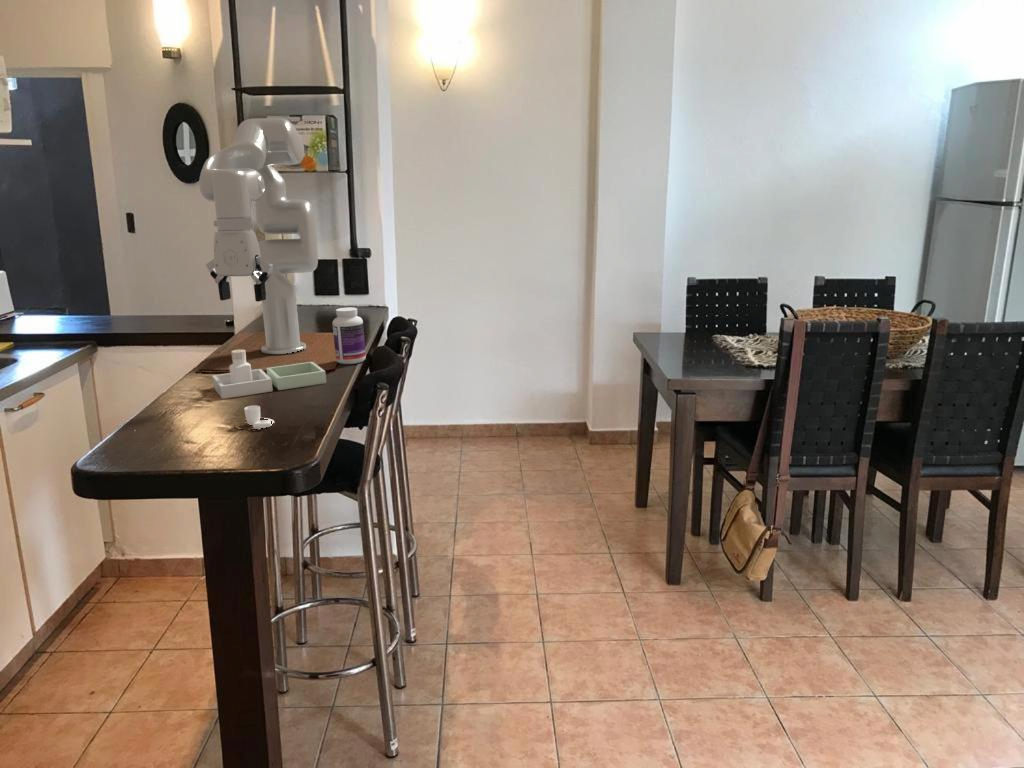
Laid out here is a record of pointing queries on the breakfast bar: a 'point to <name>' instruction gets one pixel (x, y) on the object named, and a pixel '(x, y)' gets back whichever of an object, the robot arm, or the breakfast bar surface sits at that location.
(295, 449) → the breakfast bar surface
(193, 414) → the breakfast bar surface
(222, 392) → the grey bin
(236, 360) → the pepper shaker
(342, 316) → the pill bottle
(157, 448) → the breakfast bar surface
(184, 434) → the breakfast bar surface
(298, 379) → the green bin
